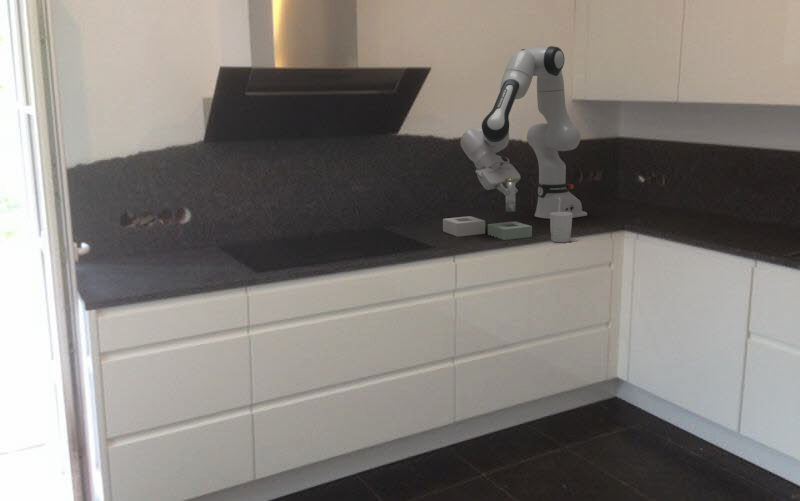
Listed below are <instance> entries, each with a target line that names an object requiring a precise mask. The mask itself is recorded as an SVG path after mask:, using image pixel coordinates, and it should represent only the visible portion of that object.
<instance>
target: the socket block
mask: <svg viewBox="0 0 800 501" xmlns="http://www.w3.org/2000/svg"><path fill="white" fill-rule="evenodd" d="M487 235H488V236H490V235H491V237H493V236H494V238H496V237H497V239H499V240H502V241H508V240H516V239H517V240H518V239H525V238H532V237H533V226H532V225H529V224H526V223H523V222H522V223H521V222H520V221H515V220H514V221H506V222H497V223H488V224H487Z"/></svg>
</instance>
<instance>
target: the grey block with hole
mask: <svg viewBox="0 0 800 501" xmlns="http://www.w3.org/2000/svg"><path fill="white" fill-rule="evenodd" d="M442 231H443V233H446V234H450V235H452V236H454V237H457V238H459V237H466V236H475V235H477V236H478V235H484V234H486V220H484V219H481V218H478V217H474V216H471V215H469V216H468V215H467V216H459V217H450V218H442Z"/></svg>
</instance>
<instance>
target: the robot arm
mask: <svg viewBox="0 0 800 501" xmlns="http://www.w3.org/2000/svg"><path fill="white" fill-rule="evenodd" d="M564 65H565V53H564V52H563V50H562V49H561V48H560V47H558V46H554V45H553V46H552V45H549V46H535V47H530V48H526V49H525V48H523V49H519V50H516V51H515V52H514V53H513V55H512V56H511V58H510V60H509V61H508V63H507V65H506V67H505V70H504V72H503V75H502V78H501V82H500V86H499V87H500V88H499V93H498V96H497V98H496V101H495V103H494V106H493V107H492V110H491V111H490V112H489V113H488V114H487V115H486V116H485V117H484V118H483V120H482V123H481V128H470V129H468V130H465V132H464V133H463V135H462V136H461V138H460V142H459V144H460V148H462V150H463V152H464V153H465V155H466V156H467V158H468V159H469V160H470V161H472V163H473V164H474V167H475V168H476V169H475V174H476V175H477V176H476V177H477V179H478V181H479V183H480V184H481V185H482V187H483V188H484V190H487V191H489V190H494V189H496V190H498V191H499V192H500V193H502V194H503V195H504V196H505V197H506V196H507V195H509V194H510V191H509V190H508V189H506V179H508V178H514V179H515V185H516V184H517V183H518V182H519V181H520V180H521V174H520V173H519V172H518V170H517V169H516V167H514V165H513V164H512V163H510V159H509V158H508V157H505V156H501V155H499V154H497V153H500V152H502V151H503V150H505V149H507V147H508V145H509V143H510V119H509V116H510V113H511V111H512V109H513V105H514V103H515V100H520V99H522V98H524V97H525V96H526V94H527V92H528V91H529V88H530V86H531V84H532V81H533V80H532V79H533V78H534V77H536V98H537V99H536V100H537V101H536V102H537V111H538V112H539V113H540V114H541V115H542V116H543V117H544V119H545V121H546V122H547V123H539V124H534V125H532V126H530V127H529V129H528V131H527V133H526V140H527V143H528V145H529V146H530V147H531V148H532V149H533V151H534V153H535V156H536V159H537V162H538V183H537V204H536V208H535V211H534V212H535V213H534V217H536V218H539V219H549V220H550V213H552V212H569V213H572V219H574V218H580V217H581V218H582V217H586V216H588V212H586V211H583V206H582V202H581V200H580V199H578V198H577V197H576V196H575V195H574V194H573V193H572V192H570V189H571V190H573V189H574V187H575V185H574V184H573V183H569V184H568V183H567V182H566V177H567V176H566V175H567V172H566V171H567V166H566V163H565V162H564V161H563V160H562V159H561V157H560V156H559V152H567V151H572V150H576V149H577V148H578V146H579V145H580V142H581V133H580V130H579V128H577V126H575V125H574V123H573V122H572V121H571V120H572V119H571V118H570V116H569V113H568V111H567V106H566V99H565V98H566V97H565V83H564V75H563V71H562V69H563V67H564ZM518 192H519V190H518V189H517V188H516V186H515V194H517V193H518Z"/></svg>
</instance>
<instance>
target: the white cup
mask: <svg viewBox="0 0 800 501" xmlns="http://www.w3.org/2000/svg"><path fill="white" fill-rule="evenodd" d="M549 222H550V223H549V225H550V226H549V228H550V241H551V242H553V243H560V244H561V243H569V242H571V234H572V224H573V218H572V213H569V212H552V213H550V219H549Z"/></svg>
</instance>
